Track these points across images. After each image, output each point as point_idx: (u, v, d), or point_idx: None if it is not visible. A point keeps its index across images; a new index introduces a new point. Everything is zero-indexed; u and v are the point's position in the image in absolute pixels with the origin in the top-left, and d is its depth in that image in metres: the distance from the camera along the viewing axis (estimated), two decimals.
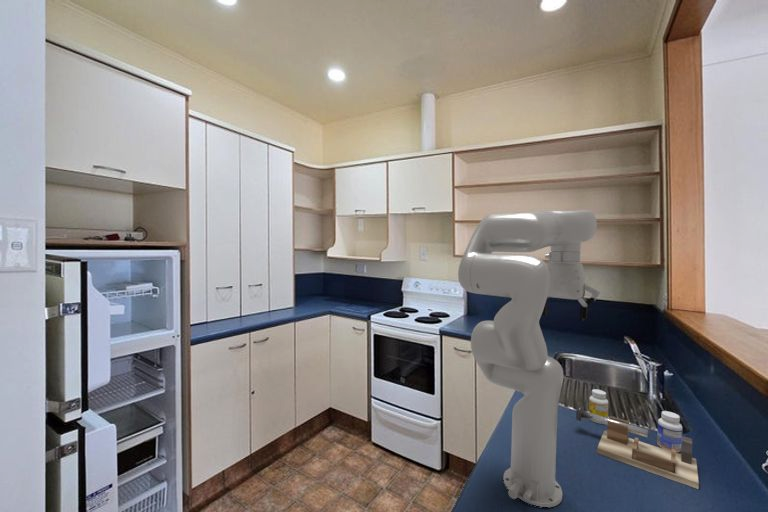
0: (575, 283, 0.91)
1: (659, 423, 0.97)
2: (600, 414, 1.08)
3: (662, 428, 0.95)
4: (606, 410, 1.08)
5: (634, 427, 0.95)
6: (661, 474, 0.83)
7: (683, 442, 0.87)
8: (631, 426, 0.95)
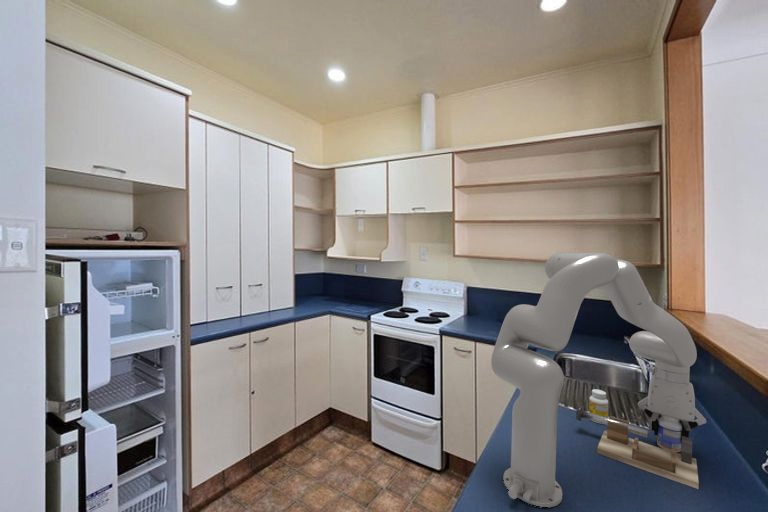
0: (687, 405, 0.92)
1: (659, 423, 0.97)
2: (600, 414, 1.08)
3: (662, 428, 0.96)
4: (606, 410, 1.08)
5: (634, 427, 0.95)
6: (661, 474, 0.83)
7: (683, 442, 0.87)
8: (631, 426, 0.95)
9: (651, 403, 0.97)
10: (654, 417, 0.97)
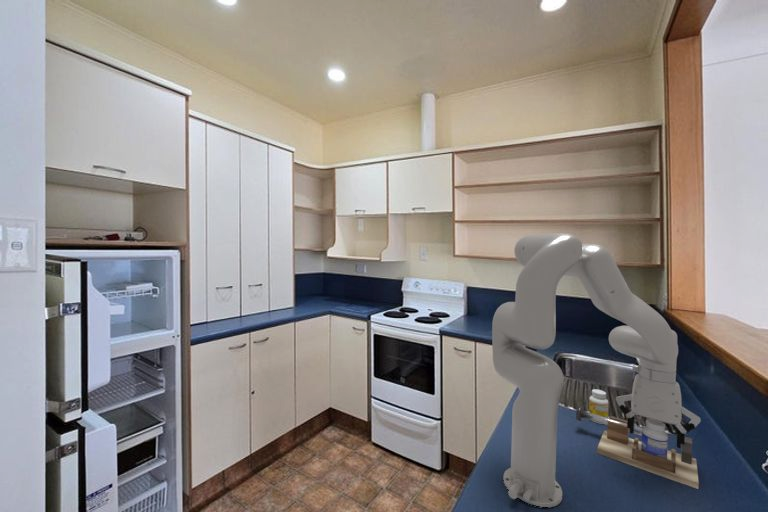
0: (672, 407, 0.84)
1: (643, 432, 0.89)
2: (600, 414, 1.08)
3: (646, 438, 0.87)
4: (606, 410, 1.08)
5: (634, 427, 0.95)
6: (661, 474, 0.83)
7: None
8: None
9: (635, 404, 0.89)
10: (631, 415, 0.90)
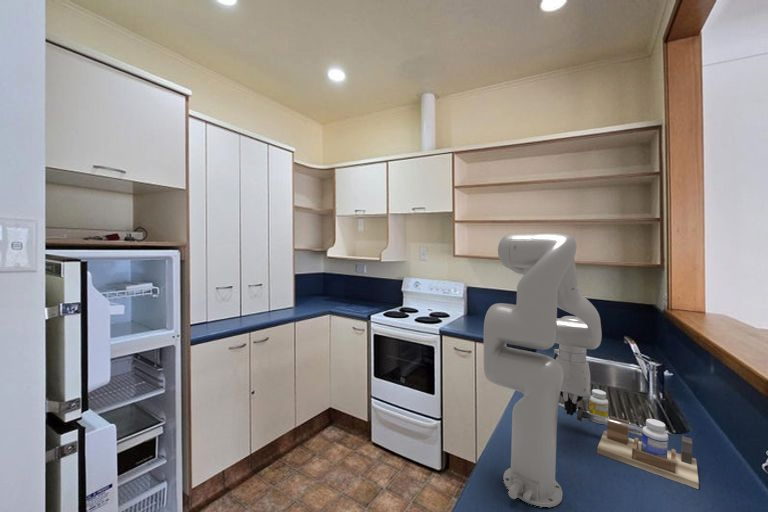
0: (582, 382, 1.01)
1: (643, 432, 0.89)
2: (600, 414, 1.08)
3: (646, 438, 0.87)
4: (606, 410, 1.08)
5: (635, 427, 0.94)
6: (661, 474, 0.83)
7: (683, 442, 0.87)
8: (632, 426, 0.95)
9: None
10: (565, 397, 1.05)
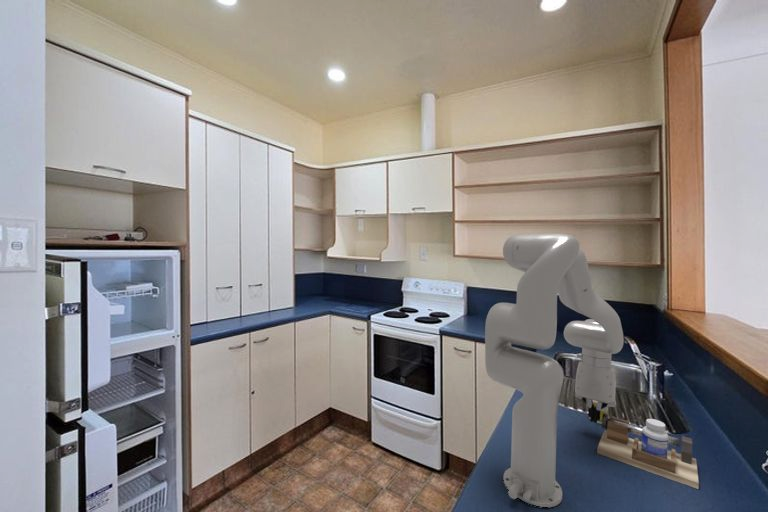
0: (607, 388, 0.97)
1: (643, 432, 0.89)
2: (600, 414, 1.08)
3: (646, 438, 0.87)
4: (606, 410, 1.08)
5: None
6: (661, 474, 0.83)
7: (683, 442, 0.87)
8: None
9: (577, 387, 1.02)
10: (589, 403, 1.01)
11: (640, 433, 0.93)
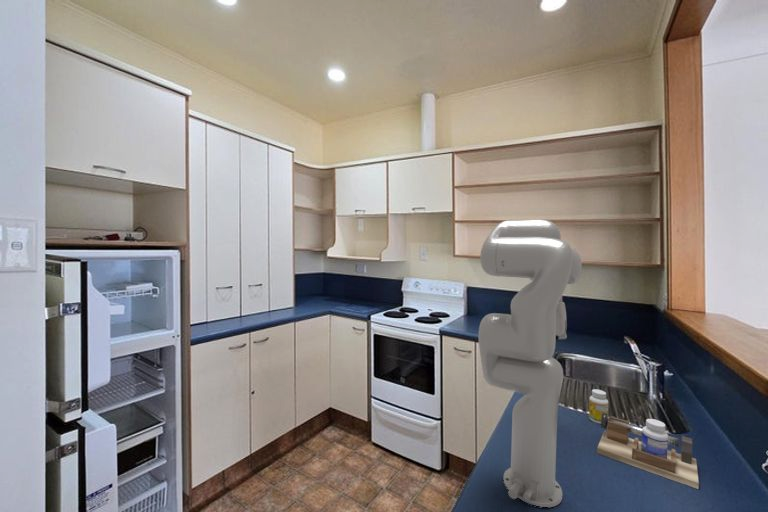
0: (557, 321, 1.01)
1: (643, 432, 0.89)
2: (600, 414, 1.08)
3: (646, 438, 0.87)
4: (606, 410, 1.08)
5: None
6: (661, 474, 0.83)
7: (683, 442, 0.87)
8: None
9: None
10: None
11: (639, 433, 0.93)
